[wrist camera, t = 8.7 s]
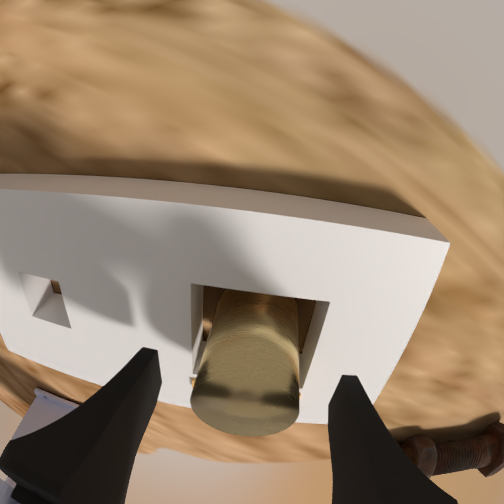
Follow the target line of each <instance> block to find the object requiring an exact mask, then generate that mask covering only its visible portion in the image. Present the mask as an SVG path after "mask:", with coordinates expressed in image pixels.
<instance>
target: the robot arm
mask: <svg viewBox="0 0 504 504" xmlns="http://www.w3.org/2000/svg"><path fill="white" fill-rule="evenodd" d="M161 385H162V378H161V371H160V364H159V357H158V350H155V349H151V348H146V347H142V348H141V349H140V350H139V351H138V352H137V353H136V354H135V355H134V356H133V358H132V359H131V360H130V361H129V362H128V363H127V364H126V365H125V366H124V367H123V368H122V369H121V370H120V371H119V372H118V373H117V374H116V375H115V376H114V377H113V378H112V379H111V380H110V381H109V382H107V383H106V384H105V385H104V386H103V387H102V388H101V389H99V390H98V391H97V392H96V393H95V394H94V395H92V396H91V397H90V398H89V399H87V400H86V401H85V402H84V403H82V404H81V405H78V404H75V403H73V402H70V401H68V400H65V399H62V398H60V397H57V396H55V395H53V394H50V393H48V392H45V391H43V390H41V389H39V388H36V389H35V390H34V392H35V394H36V398H35V400H34V401H33V403H32V404H31V406H30V408H29V409H28V411H27V413H26V414H25V416H24V418H23V419H22V421H21V423H20V425H19V426H18V428H17V430H16V432H15V433H14V435H13V437H12V439H11V440H10V441H9V443H8V444H7V446H6V447H5V449H4V451H3V453H2V455H1V457H0V469H1V470H2V471H3V472H4V473H5V474H6V475H8V477H7V479H6V481H3V480H2V479H0V504H124V503H125V498H126V493H127V488H128V484H129V479H130V475H131V471H132V467H133V464H134V460H135V456H136V453H137V450H138V447H139V445H140V442H141V440H142V437H143V435H144V433H145V430H146V428H147V425H148V423H149V421H150V418H151V416H152V413H153V411H154V408H155V406H156V403H157V400H158V396H159V392H160V389H161ZM328 433H329V442H330V452H331V462H332V472H333V493H332V504H458V502H457V500H456V499H454V498H453V497H451V496H450V495H449V494H447V493H446V492H444V491H443V490H442V489H440V488H439V487H438V486H437V485H436V484H435V483H433V482H432V481H431V480H430V479H429V478H428V477H427V476H426V475H425V474H424V473H423V472H422V471H421V470H420V469H419V468H418V467H417V466H416V465H415V464H414V463H413V462H412V461H411V460H410V459H409V457H408V456H407V455H406V454H405V453H404V451H403V450H402V449H401V448H400V446H399V445H398V444H397V442H396V441H395V439H394V438H393V437H392V435H391V434H390V432H389V431H388V429H387V428H386V426H385V424H384V423H383V421H382V420H381V418H380V416H379V415H378V413H377V411H376V410H375V408H374V406H373V404H372V402H371V401H370V399H369V397H368V395H367V393H366V391H365V390H364V388H363V386H362V384H361V382H360V380H359V378H358V377H357V375H342V376H341V378H340V381H339V383H338V385H337V387H336V389H335V391H334V394H333V396H332V398H331V400H330V402H329V404H328Z"/></svg>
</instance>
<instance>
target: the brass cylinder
mask: <svg viewBox="0 0 504 504" xmlns="http://www.w3.org/2000/svg"><path fill="white" fill-rule="evenodd" d="M190 404H191V407H192V409H193V411H194V413H195V414H196V415H197V416H198V417H199V418H200V419H201V420H202V421H203V422H205V423H206V424H208V425H210V426H211V427H213V428H215V429H218V430H220V431H223V432H226V433H230V434H234V435H240V436H265V435H271V434H275V433H278V432H280V431H283V430H285V429H287V428H288V427H290V426H291V425H292V424H293V423H294V422H295V421H296V420H297V418H298V416H299V338H298V308H297V303H296V301H295V299H294V297H286V296H278V295H271V294H263V293H256V292H248V291H241V290H234V289H226V290H225V291H224V292H223V293H222V295H221V297H220V299H219V303H218V306H217V309H216V313H215V316H214V319H213V323H212V326H211V329H210V333H209V336H208V339H207V343H206V346H205V349H204V353H203V356H202V359H201V363H200V366H199V370H198V373H197V376H196V380H195V383H194V387H193V390H192V394H191V397H190Z"/></svg>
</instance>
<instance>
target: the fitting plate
mask: <svg viewBox="0 0 504 504" xmlns="http://www.w3.org/2000/svg"><path fill="white" fill-rule="evenodd" d="M449 246H450V242H449V241H448V240H447V239H446V238H445V237H444V236H443V234H442V233H441V232H440V231H439V230H438V229H437V228H436V227H435V226H434V225H433V224H432V223H431V222H430V221H429V220H428V219H427V218H422V217H417V216H412V215H407V214H402V213H397V212H392V211H386V210H381V209H375V208H370V207H364V206H358V205H353V204H347V203H341V202H334V201H328V200H322V199H315V198H309V197H302V196H295V195H288V194H281V193H273V192H266V191H258V190H250V189H242V188H233V187H224V186H215V185H206V184H196V183H185V182H174V181H163V180H150V179H137V178H122V177H105V176H85V175H59V174H0V333H1V335H2V338H3V340H4V342H5V344H6V346H7V348H8V350H9V351H11V352H14V353H16V354H18V355H20V356H23V357H25V358H27V359H30V360H32V361H35V362H37V363H40V364H42V365H45V366H47V367H50V368H52V369H55V370H58V371H60V372H63V373H66V374H68V375H71V376H74V377H77V378H80V379H83V380H86V381H89V382H92V383H95V384H98V385H101V386H104V385H105V384H106V383H107V382H109V381H110V380H111V379H112V378H113V377H114V376H115V375H116V374H117V373H118V372H119V371H120V370H121V369H122V368H123V367H124V366H125V365H126V364H127V363H128V362H129V361H130V360H131V359H132V358H133V356H134V355H135V354H136V353H137V352H138V351H139V350H140V349H141V348H142V347H146V348H151V349H155V350H158V357H159V364H160V371H161V378H162V385H161V389H160V392H159V396H158V400H157V401H161V402H165V403H169V404H174V405H179V406H183V407H188V408H192V407H191V404H190V397H191V394H192V390H193V387H194V383H195V380H196V376H197V373H198V370H199V366H200V363H201V359H202V356H203V353H204V349H205V346H206V343H207V341H203V288H204V285H207V286H213V287H220V288H227V289H234V290H241V291H248V292H256V293H263V294H271V295H278V296H286V297H294V298H302V299H310V300H316V304H315V308H314V311H313V315H312V319H311V322H310V326H309V330H308V333H307V337H306V340H305V344H304V347H303V351H302V354H299V416H298V418H297V420H296V421H295V422H300V423H317V424H328V404H329V402H330V400H331V398H332V396H333V394H334V391H335V389H336V387H337V385H338V383H339V381H340V378H341V376H342V375H357V377H358V378H359V380H360V382H361V384H362V386H363V388H364V390H365V391H366V393H367V395H368V397H369V399H370V401H371V402H372V404H374V402H375V400H376V399H377V397H378V395H379V394H380V392H381V390H382V389H383V387H384V385H385V384H386V382H387V380H388V378H389V377H390V375H391V373H392V371H393V370H394V368H395V366H396V364H397V362H398V360H399V359H400V357H401V355H402V353H403V351H404V349H405V347H406V345H407V343H408V341H409V339H410V337H411V335H412V333H413V331H414V329H415V327H416V325H417V323H418V321H419V319H420V317H421V314H422V312H423V310H424V308H425V306H426V303H427V301H428V299H429V297H430V294H431V292H432V289H433V287H434V285H435V282H436V280H437V277H438V275H439V272H440V270H441V267H442V265H443V262H444V259H445V257H446V254H447V251H448V248H449ZM51 280H54V281H58V282H59V285H60V289H61V293H62V295H61V294H57V293H54V292H53V288H52V284H51Z"/></svg>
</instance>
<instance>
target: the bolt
mask: <svg viewBox="0 0 504 504" xmlns="http://www.w3.org/2000/svg"><path fill="white" fill-rule="evenodd" d="M399 446H400V448H401V449H402V450H403V451H404V453H405V454H406V455H407V456H408V457H409V459H410V460H411V461H412V462H413V463H414V464H415V465H416V466H417V467H418V468H419V469H420V470H421V471H422V472H423V473H424V474H425V475H426V476H427V477H428V478H430V477H431V476H434V475H440V474H446V473H452V472H457V471H463V470H468V469H473V468H475V469H476V468H477V469H478V470H479V471H480V472H481V473H482V474H483V475H484V476H485V477H487V476H491V475H493V474H495V473H497V472H498V471H500V470H501V469H502V468H504V424H503V423H500V422H496V423H492V424H490V426H489V427H488V428H487V429H486V430H485V431H484V432H483V433H482V434H481V435H480V436H477V437H475V438H469V439H464V440H455V441H447V442H437V443H436V442H435V443H434V442H433V440H432V439H430V438H429V437H427V436H426V435H418V436H412V437H410V438H409V439H407V440H406V441H405V443H404V444H403V445H399Z"/></svg>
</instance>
